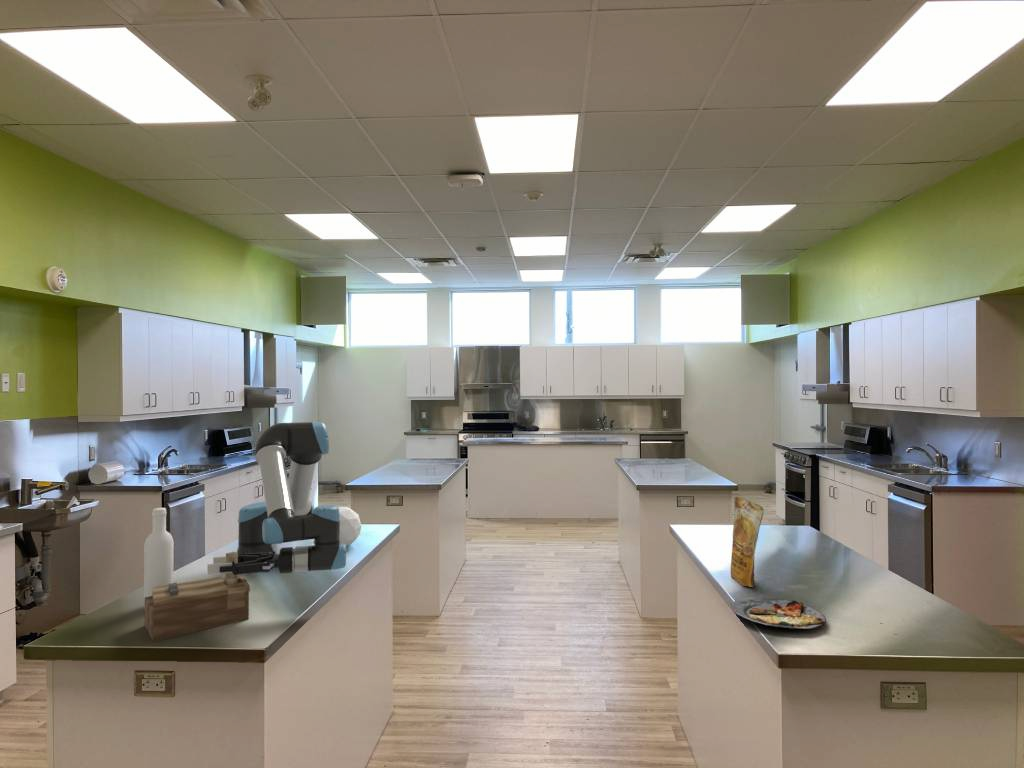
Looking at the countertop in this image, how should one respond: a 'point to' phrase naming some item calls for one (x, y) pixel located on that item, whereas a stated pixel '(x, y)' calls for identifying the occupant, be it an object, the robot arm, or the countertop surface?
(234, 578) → the pin
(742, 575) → the pancake mix bag
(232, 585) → the toolbox lid
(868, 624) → the countertop surface
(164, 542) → the bottle
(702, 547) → the countertop surface
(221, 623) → the toolbox
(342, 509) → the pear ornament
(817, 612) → the food plate
